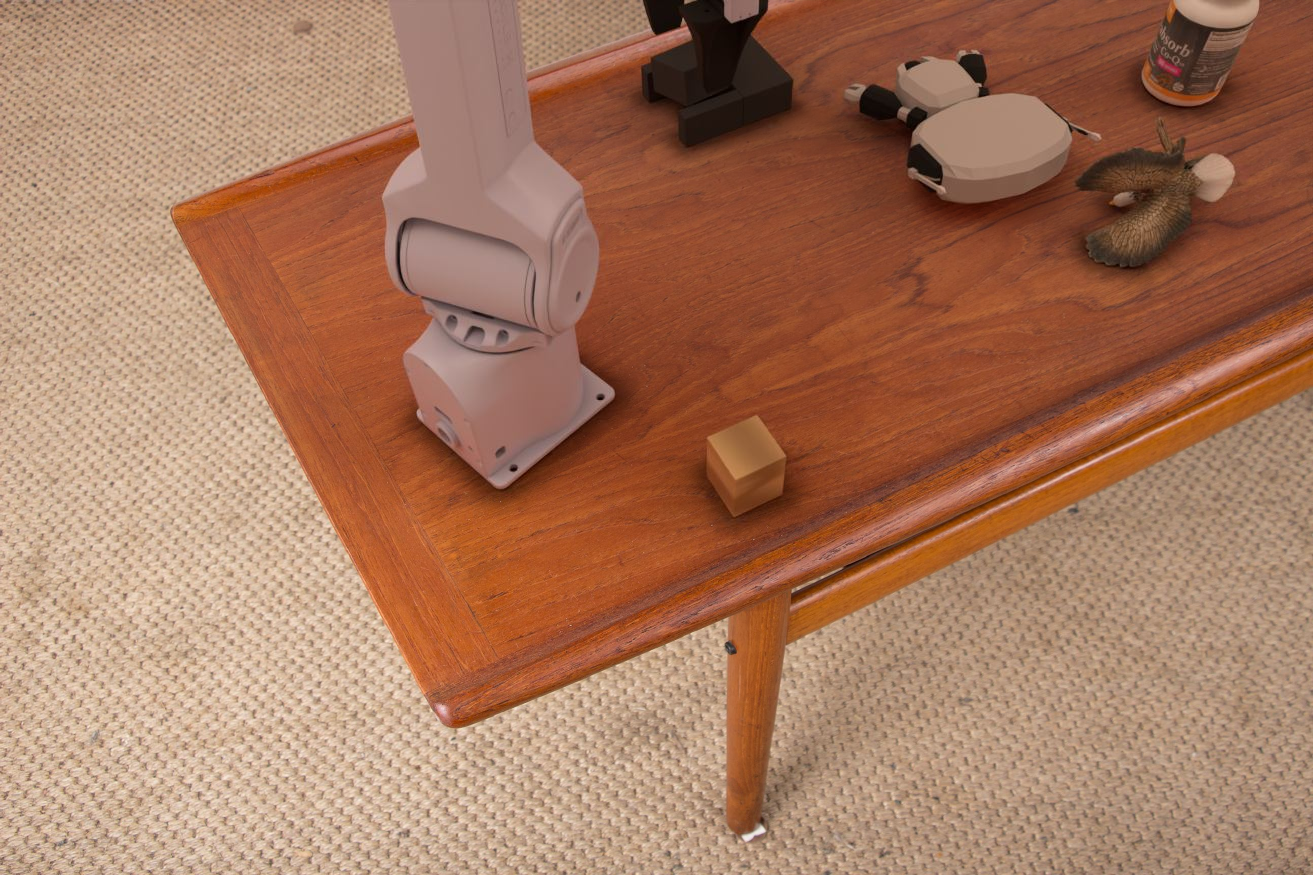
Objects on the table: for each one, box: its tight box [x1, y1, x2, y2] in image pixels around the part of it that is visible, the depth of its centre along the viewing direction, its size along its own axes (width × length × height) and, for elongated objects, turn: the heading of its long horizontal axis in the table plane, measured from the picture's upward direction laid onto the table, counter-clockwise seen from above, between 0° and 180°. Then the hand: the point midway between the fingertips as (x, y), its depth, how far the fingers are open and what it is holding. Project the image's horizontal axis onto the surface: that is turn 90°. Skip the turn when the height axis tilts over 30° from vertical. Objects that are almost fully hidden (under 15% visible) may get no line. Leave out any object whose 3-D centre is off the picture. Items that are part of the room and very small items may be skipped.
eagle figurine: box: [1073, 115, 1236, 268], centre depth 70 cm, size 8×7×9 cm
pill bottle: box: [1141, 0, 1260, 107], centre depth 76 cm, size 6×6×10 cm
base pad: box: [640, 34, 794, 148], centre depth 80 cm, size 9×7×3 cm
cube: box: [706, 414, 787, 518], centre depth 60 cm, size 3×3×4 cm
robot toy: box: [843, 49, 1102, 205], centre depth 75 cm, size 12×4×15 cm
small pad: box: [650, 39, 730, 107], centre depth 78 cm, size 4×4×3 cm
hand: (691, 57), depth 77 cm, fingers open, 7 cm apart
